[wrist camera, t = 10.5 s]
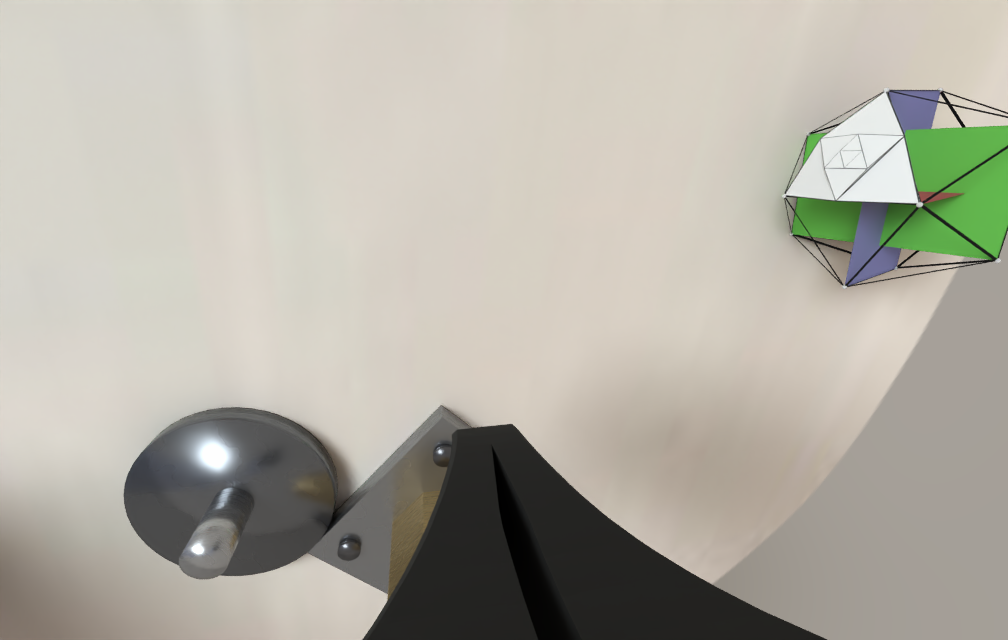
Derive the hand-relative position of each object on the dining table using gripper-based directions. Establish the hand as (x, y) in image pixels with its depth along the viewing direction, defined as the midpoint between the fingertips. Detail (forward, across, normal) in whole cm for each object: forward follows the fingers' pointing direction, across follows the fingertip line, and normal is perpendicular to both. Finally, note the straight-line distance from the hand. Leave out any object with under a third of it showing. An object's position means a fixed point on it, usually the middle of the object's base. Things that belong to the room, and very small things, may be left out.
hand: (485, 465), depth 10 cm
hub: (+10, +1, +11) cm, 15 cm away
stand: (+10, +10, +7) cm, 16 cm away
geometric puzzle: (+10, -16, -5) cm, 20 cm away
